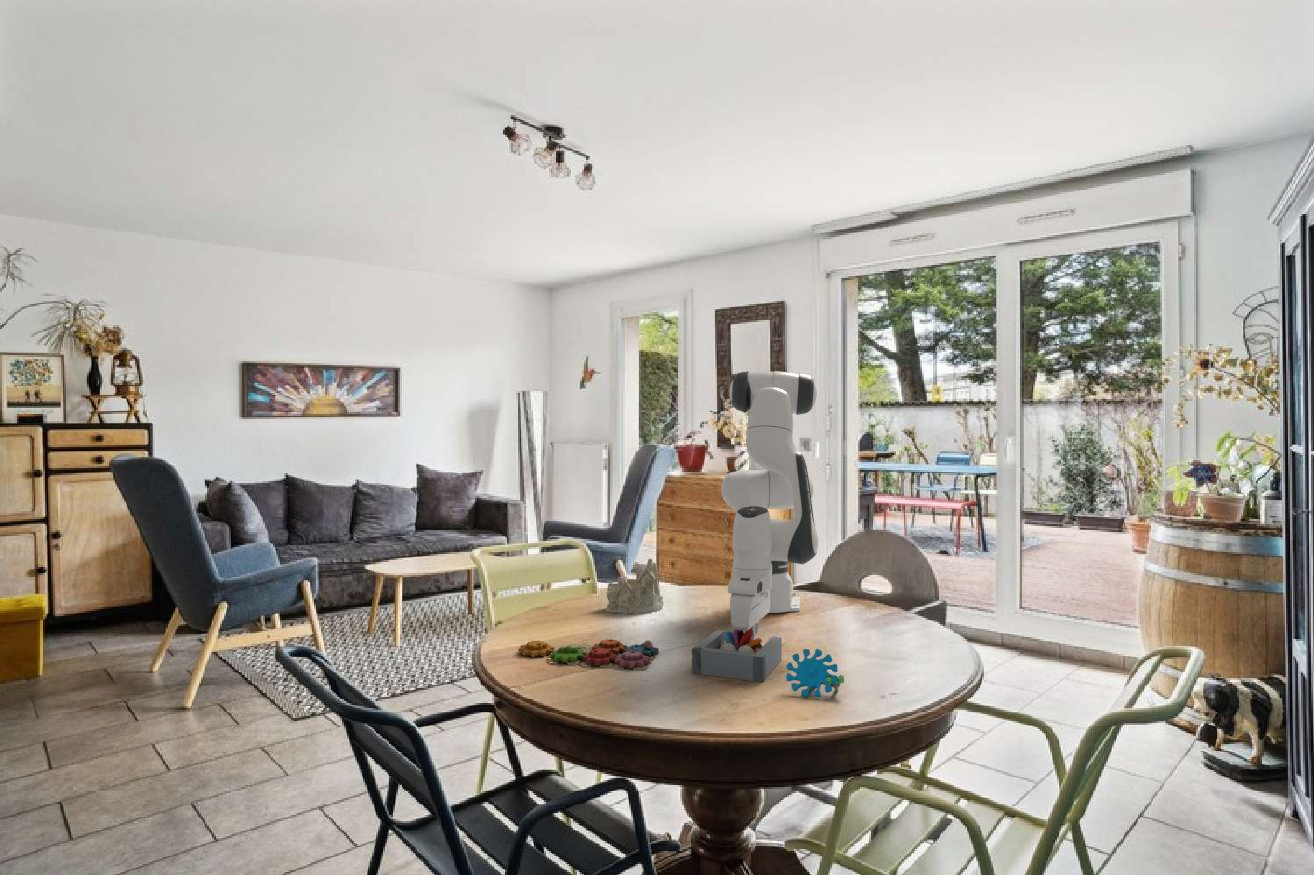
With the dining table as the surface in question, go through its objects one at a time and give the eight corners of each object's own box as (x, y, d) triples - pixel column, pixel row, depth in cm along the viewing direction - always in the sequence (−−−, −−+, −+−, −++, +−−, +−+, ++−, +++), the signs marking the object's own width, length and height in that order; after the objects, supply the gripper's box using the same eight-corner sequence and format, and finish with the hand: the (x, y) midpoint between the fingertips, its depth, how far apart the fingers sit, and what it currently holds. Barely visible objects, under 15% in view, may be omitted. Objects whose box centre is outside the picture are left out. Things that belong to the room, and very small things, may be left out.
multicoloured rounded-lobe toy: (756, 668, 162) (756, 633, 162) (713, 661, 166) (713, 628, 166) (768, 657, 170) (768, 624, 170) (727, 651, 174) (727, 619, 174)
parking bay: (715, 652, 174) (715, 630, 174) (781, 660, 168) (781, 637, 168) (691, 672, 159) (691, 648, 159) (762, 682, 153) (762, 657, 153)
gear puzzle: (506, 663, 167) (506, 644, 167) (535, 643, 182) (535, 626, 182) (646, 674, 160) (646, 654, 160) (663, 652, 175) (663, 635, 175)
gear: (777, 685, 146) (794, 640, 152) (781, 700, 150) (797, 655, 156) (835, 703, 141) (849, 656, 147) (837, 717, 145) (851, 671, 151)
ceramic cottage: (668, 601, 225) (664, 550, 224) (657, 617, 208) (653, 562, 208) (616, 602, 228) (613, 552, 227) (601, 618, 212) (597, 563, 211)
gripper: (751, 571, 184) (750, 628, 184) (725, 586, 165) (725, 651, 165) (777, 572, 181) (776, 631, 181) (753, 589, 162) (753, 654, 163)
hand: (751, 641), depth 173 cm, fingers closed
